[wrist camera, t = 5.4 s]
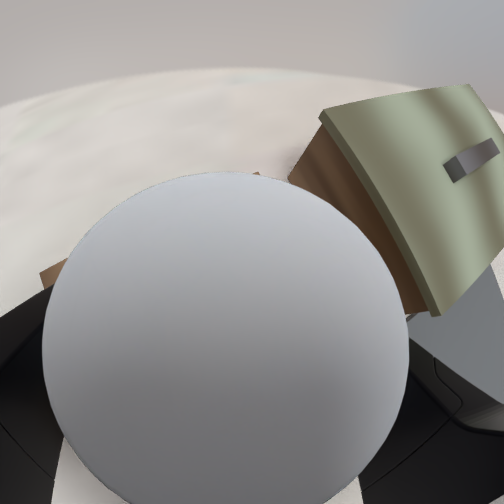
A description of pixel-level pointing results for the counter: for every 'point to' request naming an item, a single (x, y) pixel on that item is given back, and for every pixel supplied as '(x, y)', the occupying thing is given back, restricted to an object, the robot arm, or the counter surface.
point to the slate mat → (468, 335)
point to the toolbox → (411, 187)
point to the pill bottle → (225, 345)
